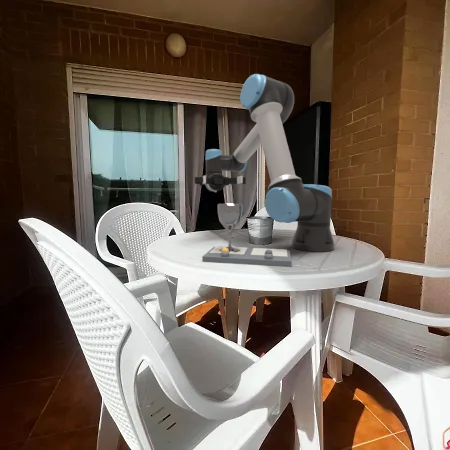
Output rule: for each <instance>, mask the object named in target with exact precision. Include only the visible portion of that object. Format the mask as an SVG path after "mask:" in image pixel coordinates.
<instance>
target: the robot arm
mask: <svg viewBox="0 0 450 450" xmlns="http://www.w3.org/2000/svg"><path fill="white" fill-rule="evenodd" d="M239 95H240V96H239V101H240V104H241V106H242V107H243V108H244V109H245V110H248V111H249V115H250V119H251V120H252V121H253V122H254V123H256V124H255V125H254V126H253V128H251V130H250V132H249V133H247V135H246V136H245V138H244V139H243V140H242V142H241V143H240V144H239V145H238V146H237V148H236V149H235V150H234V152H233V153H232V154H231V155H227V154H222V150H220V149H217V148H211V149H210V148H209V149H207V150H206V151H205V159H204V160H205V175H203V176H194V184H195V185H199V186H204V185H205V187H206V189H207V190H208V191H209V192H214V193H217V192H218V191H222V190H223V189H224V188H225V186H229V185H231V186H233V185H245V184H246V183H247V182H246V181H247V180H246V177H245V176H244V175H238V176H236V177H229V176H224V175H223V174H222V172H224V171H225V172H234V173H239V172H244V171H245V170H246V169H247V166H248V161H249V159H250V158H251V157H252V156H253V154H255V152H256V151H257V150H258V148H260V147H262V151H263V154H264V159H265V162H266V163H265V164H266V167H267V168H266V169H267V170H268V174H269V179H270V183H269V185H268V187H267V190H268V191H267V193H266V195H265V199H264V208H265V211H266V213H267V215H268V216H269V217H270V218H271V219H272V220H274V221H275V222H277V223H284V224H285V223H286V224H291V223H294V222H297V227H296V229H295V232H294V235H293V238H292V240H291V247H292V248H294V249H296V250H301V251H305V252H319V253H321V252H330V251H333V250H335V241H334V237H333V234H332V231H331V219H332V217H331V215H332V204H333V203H332V202H333V201H332V200H333V195H332V194H333V190H332V188H331V187H329V186H327V185H323V184H322V185H321V184H311V183H310V184H309V183H308V184H304V183H303V180H302V178H301V177H299V176H297V175H296V173H295V172H296V171H295V168H294V165H293V159H292V157H291V151H290V148H289V145H288V142H287V136H286V133H285V129H284V126H283V125H284V123H285V122H286V121H287V120H288V118H289V116H290V115H291V113H292V111H293V108H294V104H295V94H294V91H293V89H292V87H291V86H290V85H289V84H287V83H286V82H283V81H281V80H276V79H274V78H272V77H269V76H267V75H264V74H259V73H254V74H251V75H249V77H248V78H247V79H246V80H245V82H244V83H243V85H242V89H241V90H240V94H239Z"/></svg>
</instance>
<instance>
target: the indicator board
mask: <svg viewBox="0 0 450 450" xmlns="http://www.w3.org/2000/svg"><path fill="white" fill-rule="evenodd" d="M226 247H227V246H219V245H218V246H213V247H212V248H211V249H210V250H209V251H207V252H206V253H205V254H204V255H203V256H202V257H201V259H202V260H201V261H202V262H203V263H222V264H239V265H240V264H241V265H259V266H271V267H272V266H274V267H276V266H277V267H289V268H290V267H291V268H292V266H293V265H292V261H293V260H292V256H291V250H289V249H287V248H286V249H284V248H280V249H279V248H263V247H262V248H261V247H253V248H251V247H250V248H249V247H242V246H241V247H239V246H233V247H234V248H238V249H240V251H239V252H229V250H228V248H226ZM221 248H223V249H222V251H219V249H221Z"/></svg>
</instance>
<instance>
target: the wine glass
mask: <svg viewBox="0 0 450 450" xmlns="http://www.w3.org/2000/svg"><path fill="white" fill-rule="evenodd" d="M217 215H218V220H219V223H220V224H221V225H222V226H223V228H224V229H225V230H226V232H227V236H228V237H227V238H228V239H227V240H228V246H225V247H226V248H228V250H229V252H239V251H240V249H238V248H234V247H235V246H232V235H233V231H234V230H235V228H236V227H237V226H238V225H239V224H240V222H241V220H242V215H243V203H232V202H231V203H218V204H217ZM222 249H223V248H221V249H219V251H222Z"/></svg>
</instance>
